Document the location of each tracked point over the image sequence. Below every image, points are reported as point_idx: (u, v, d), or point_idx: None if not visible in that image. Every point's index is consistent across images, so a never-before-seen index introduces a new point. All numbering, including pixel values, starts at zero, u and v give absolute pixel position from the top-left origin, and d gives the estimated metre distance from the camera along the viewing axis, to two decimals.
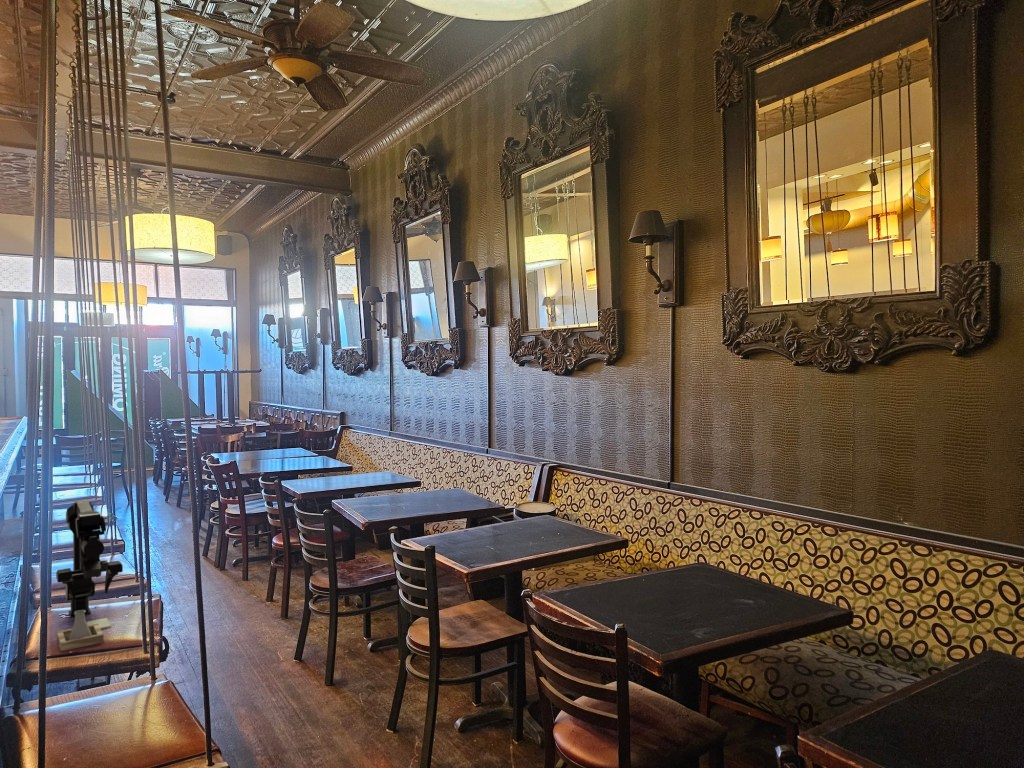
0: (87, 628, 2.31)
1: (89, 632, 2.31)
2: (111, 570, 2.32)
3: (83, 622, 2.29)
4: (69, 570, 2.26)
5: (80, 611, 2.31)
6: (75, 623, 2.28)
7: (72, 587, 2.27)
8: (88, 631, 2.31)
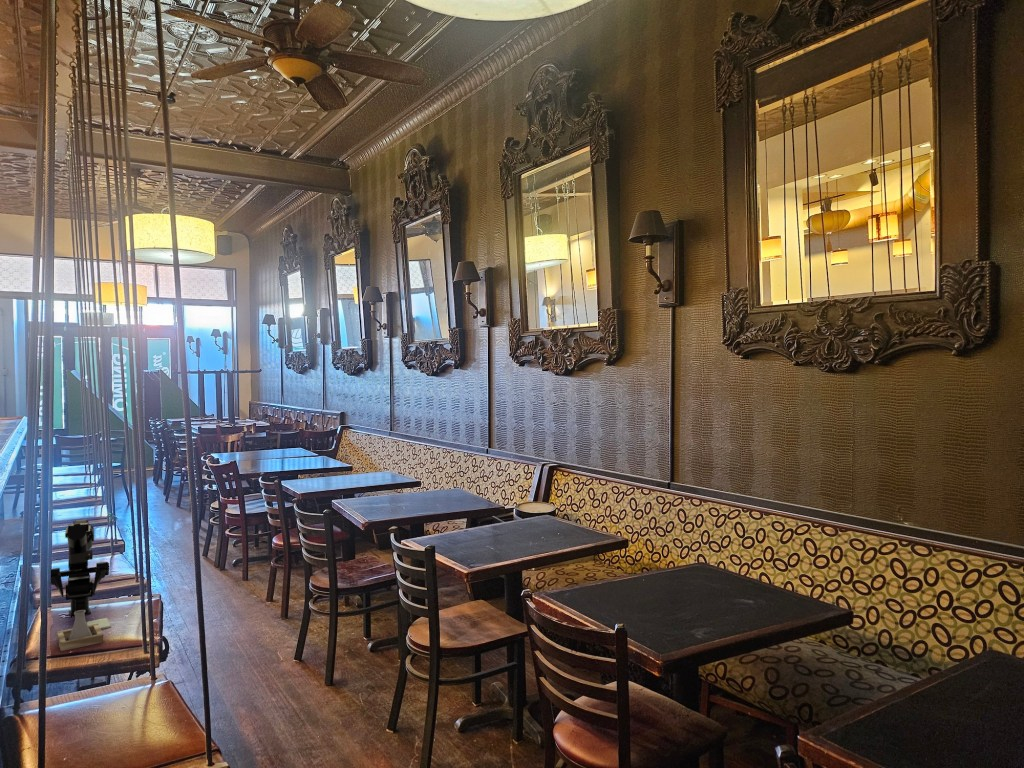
0: (87, 628, 2.31)
1: (89, 632, 2.31)
2: (98, 565, 2.42)
3: (83, 622, 2.29)
4: None
5: (80, 611, 2.31)
6: (75, 623, 2.28)
7: (60, 583, 2.35)
8: (88, 631, 2.31)
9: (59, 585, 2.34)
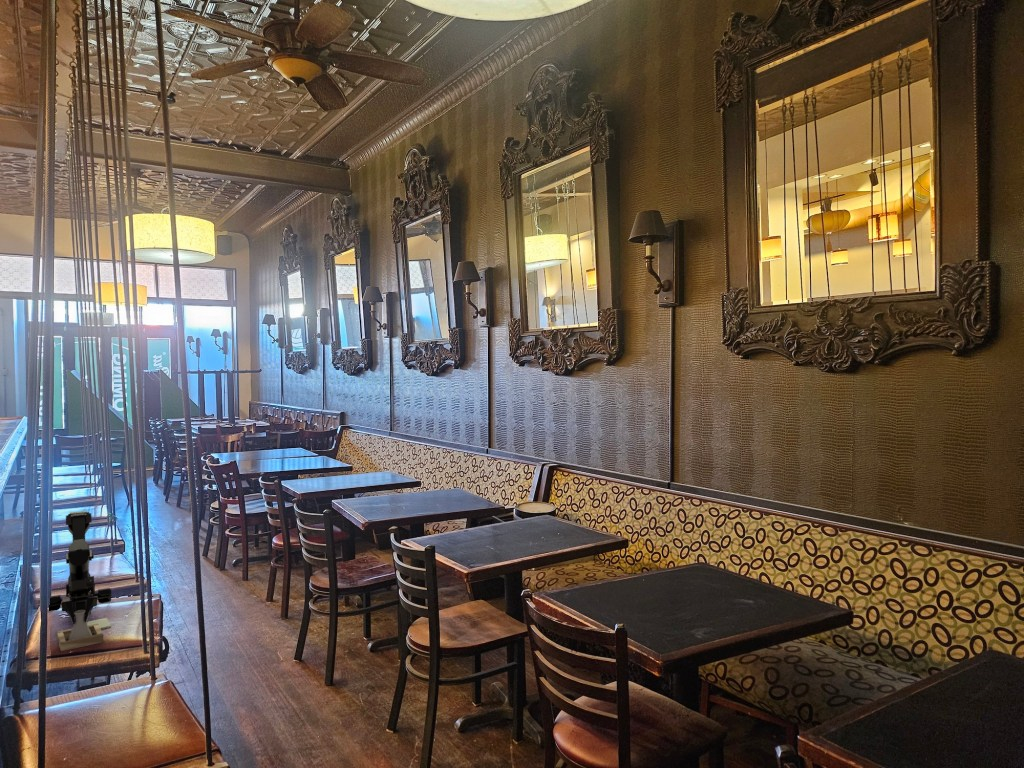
0: (87, 628, 2.31)
1: (89, 632, 2.31)
2: (99, 592, 2.35)
3: (83, 622, 2.29)
4: None
5: (80, 611, 2.31)
6: (75, 623, 2.28)
7: (71, 609, 2.29)
8: (88, 631, 2.31)
9: (70, 611, 2.29)
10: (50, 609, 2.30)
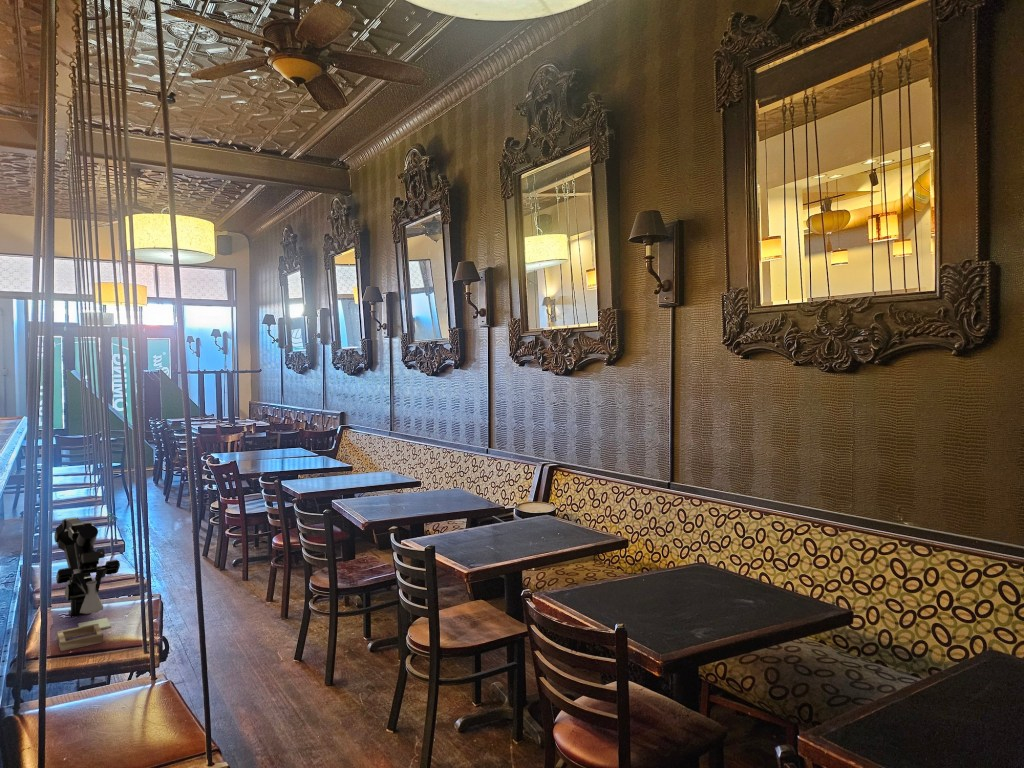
0: (98, 598, 2.40)
1: (100, 602, 2.40)
2: (109, 563, 2.44)
3: (95, 592, 2.38)
4: None
5: (91, 582, 2.39)
6: None
7: (83, 581, 2.37)
8: (100, 601, 2.40)
9: (82, 582, 2.37)
10: (60, 581, 2.37)
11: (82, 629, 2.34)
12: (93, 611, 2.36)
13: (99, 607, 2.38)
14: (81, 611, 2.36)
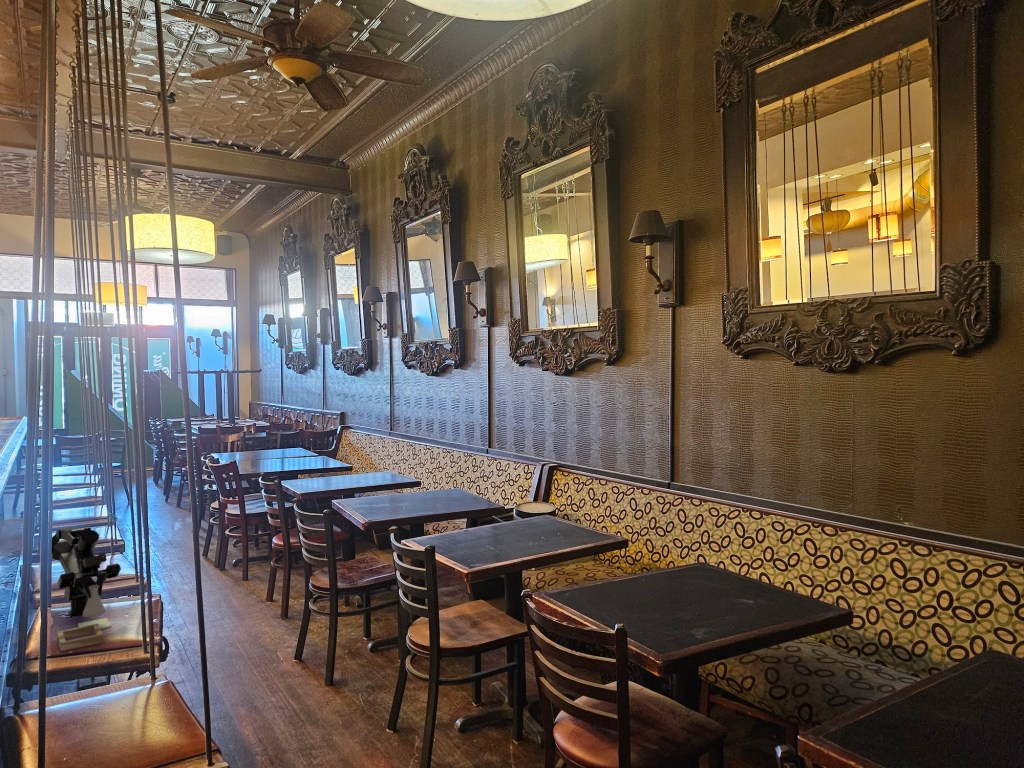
0: (101, 601, 2.43)
1: None
2: (110, 567, 2.47)
3: (98, 596, 2.42)
4: None
5: (93, 586, 2.43)
6: (90, 597, 2.40)
7: (86, 585, 2.40)
8: (102, 604, 2.43)
9: (85, 586, 2.40)
10: (62, 586, 2.39)
11: (82, 629, 2.34)
12: (96, 614, 2.40)
13: (102, 610, 2.42)
14: (84, 615, 2.39)
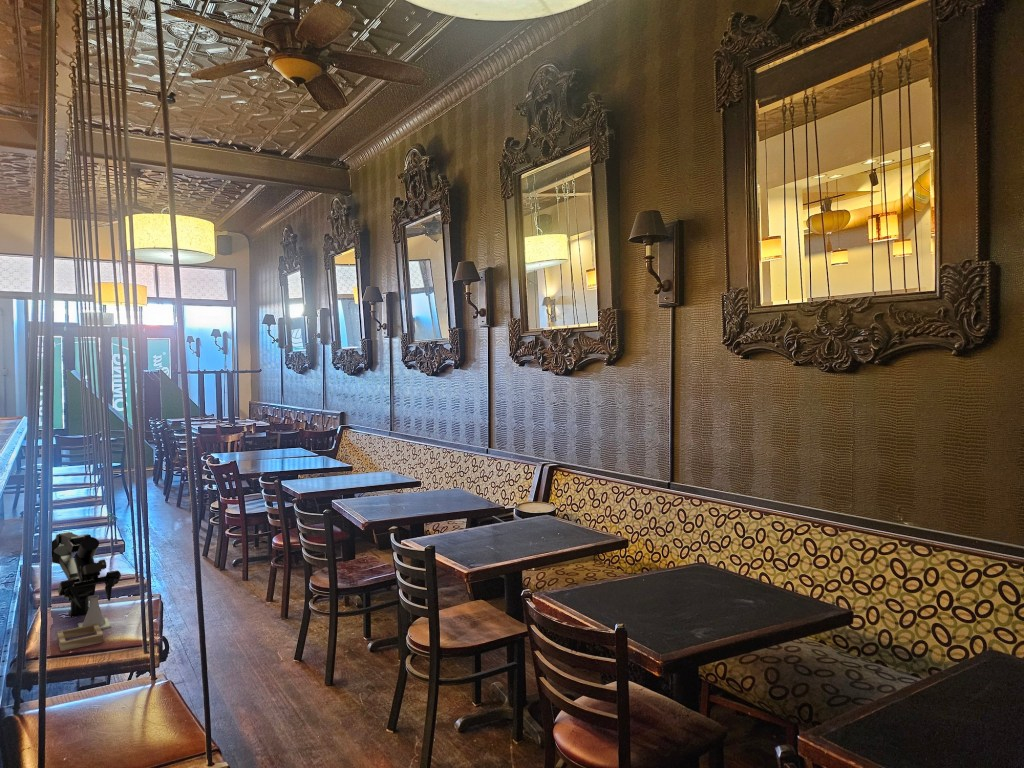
0: (101, 612, 2.43)
1: None
2: (110, 574, 2.47)
3: (98, 606, 2.42)
4: None
5: (93, 596, 2.43)
6: (90, 608, 2.40)
7: (77, 594, 2.38)
8: (102, 614, 2.43)
9: (76, 596, 2.38)
10: (62, 593, 2.40)
11: (82, 629, 2.34)
12: None
13: (102, 621, 2.42)
14: (84, 625, 2.39)
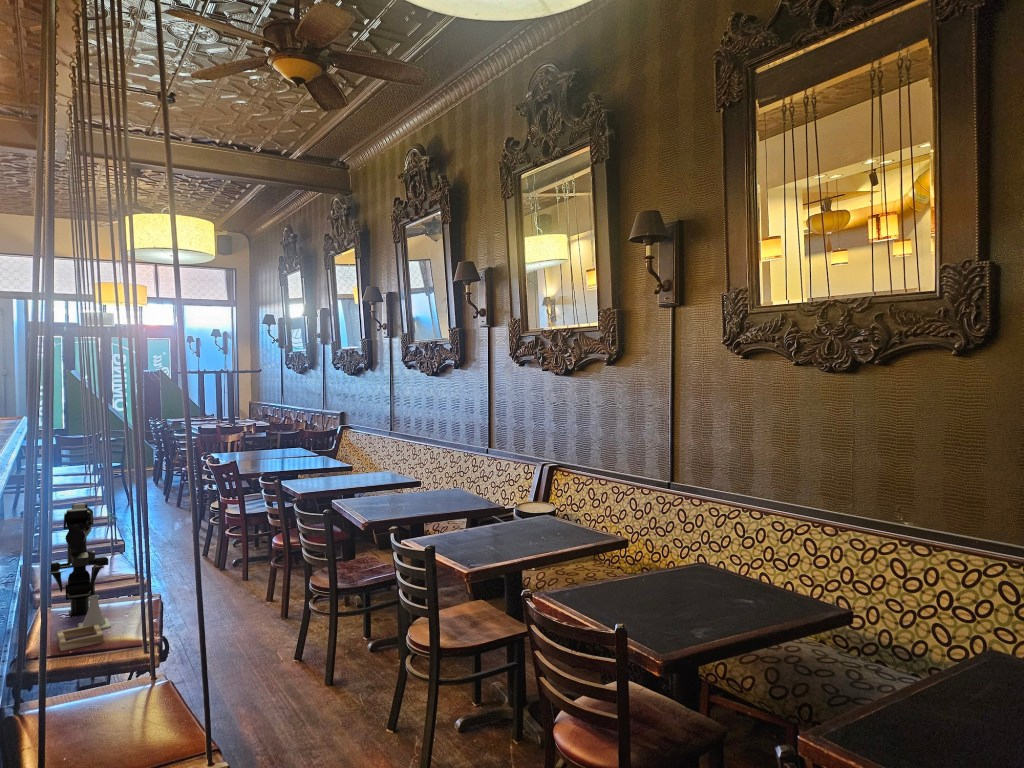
0: (101, 612, 2.43)
1: None
2: (97, 562, 2.43)
3: (98, 606, 2.42)
4: (57, 562, 2.37)
5: (93, 596, 2.43)
6: (90, 608, 2.40)
7: (60, 579, 2.36)
8: (102, 614, 2.43)
9: (58, 581, 2.36)
10: None
11: (82, 629, 2.34)
12: None
13: (102, 621, 2.42)
14: (84, 625, 2.39)
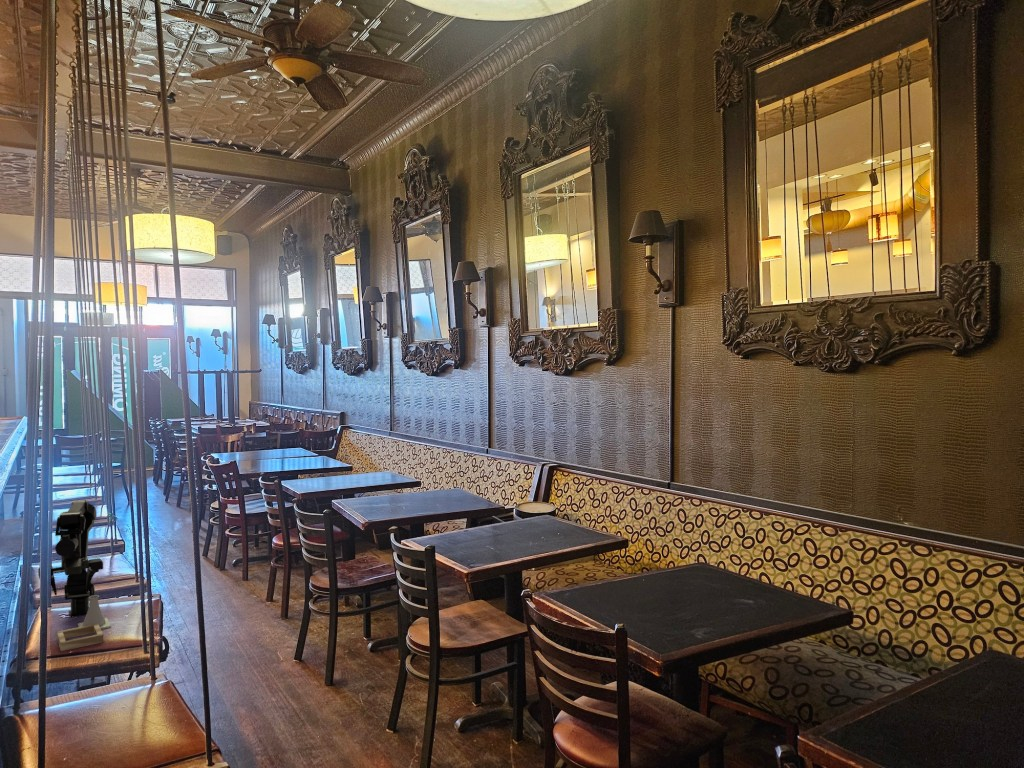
0: (101, 612, 2.43)
1: None
2: (92, 567, 2.40)
3: (98, 606, 2.42)
4: (51, 567, 2.34)
5: (93, 596, 2.43)
6: (90, 608, 2.40)
7: (54, 583, 2.35)
8: (102, 614, 2.43)
9: (52, 585, 2.34)
10: None
11: (82, 629, 2.34)
12: None
13: (102, 621, 2.42)
14: (84, 625, 2.39)
